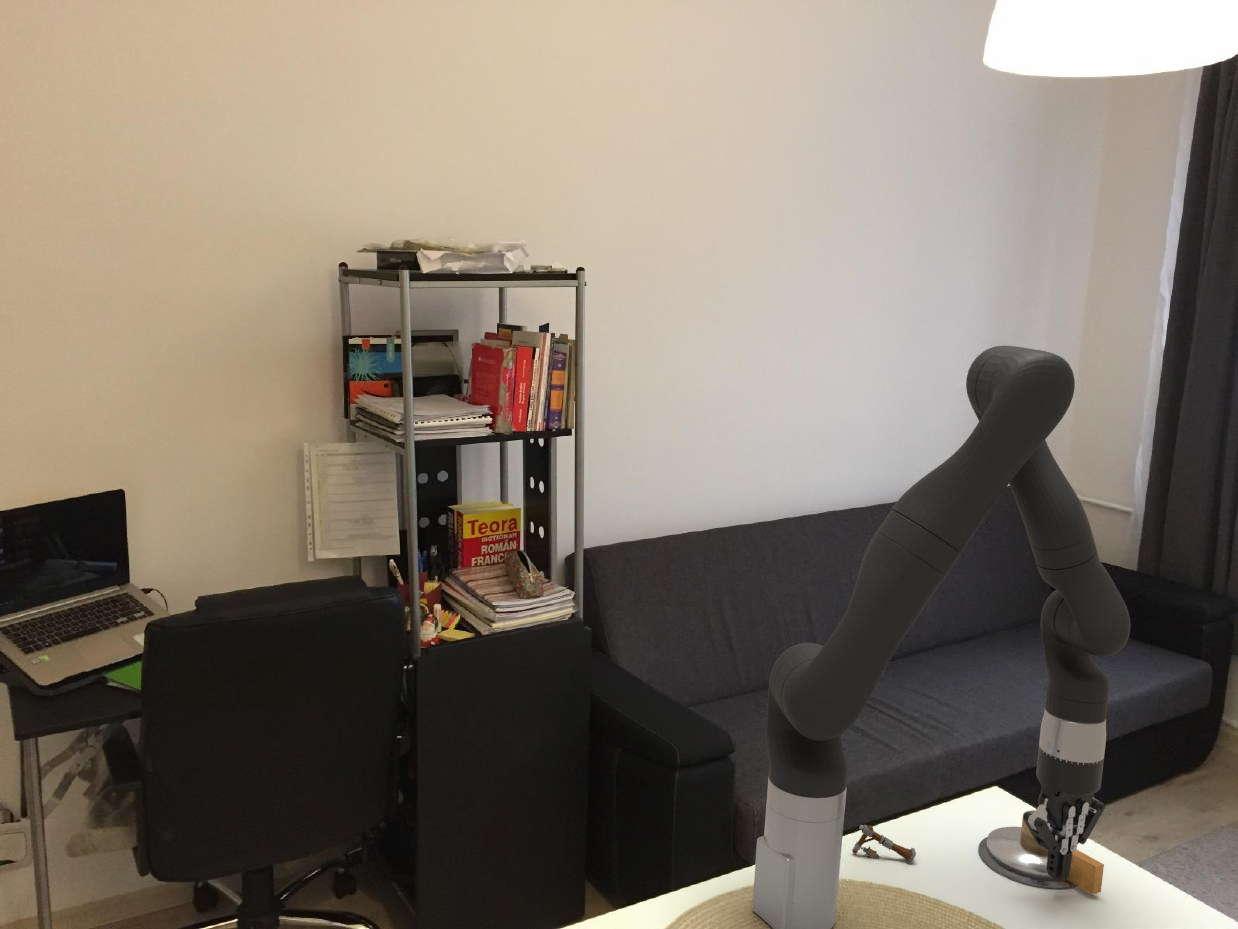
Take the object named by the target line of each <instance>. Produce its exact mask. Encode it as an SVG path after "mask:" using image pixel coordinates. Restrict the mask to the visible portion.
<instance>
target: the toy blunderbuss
mask: <svg viewBox="0 0 1238 929" xmlns="http://www.w3.org/2000/svg"><path fill="white" fill-rule="evenodd" d="M858 828H859V830H860V831H861V833H862V835H861V836H860V838H859V839H858V841H856V843H855V844H854V846H853V848H852V853H853V854H854V855H857V853H858V851H860V850H862V851H863V853H865V856H866V857H869V858H871V859H879V858H880V855H879V853H878V852H877V850H874V849H871V847H870V846H868V847H866V846H865V847H862V846H863V845H864V844H866V843H869V842H871V841H877V842H878V844H879V845H880V846H882V847H885V848H886V849H888V850H889V851H890V850H891V851H893V852H895V853H896V854H898V855H899V856H900V857H902V858H903V859H905V861H906V864H907V865H909V866H910V865H911V863H912V862H913V861H914V859H915V857H916V856H917V852H916V848H914V847H911V848H910V849H909V848H906V847H904V846H902V845H899V844H896V843H894V842H893V840H891V839H889V838H888V837H887V836H884V834H880V833H878V832H877V831H875V830H874V827H873V825H871V824H870V825H866V824H864V825H863V824H861V825H859V826H858ZM867 838H868V839H867Z"/></svg>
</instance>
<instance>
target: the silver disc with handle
mask: <svg viewBox="0 0 1238 929" xmlns="http://www.w3.org/2000/svg"><path fill="white" fill-rule="evenodd" d="M1021 828H1022V826H1004V827H998V828H995V829H994V830H991V831H990V832H989V834H988V835H987V836H986V837H987V846H986V848H987V852H988V854H989V855H990V856H991V857H992V858H993V859H994V860H995V861H996V862H997V863H999V864H1000V865H1002V866H1003V867H1005V868H1007V869H1009V870H1011V871H1014V872H1016V873H1019V874H1022V875H1025V876H1028V877H1033V878H1037V879H1044V880H1056V879H1055V878H1053V877H1051V876H1050V875H1049V874H1048V873H1047V869H1046V867H1047V857H1048V856H1042V855H1037V854H1034V853H1031V852H1029V851H1027V850H1025V849H1024V848H1023V847H1022V846H1021V845H1020V838H1021ZM1104 868H1105V864H1103V863H1102V862H1101V861H1098V860H1096V859H1095V858H1093V857H1091V856H1090V855H1087V854H1086V853H1084V852H1082V851H1080V850H1079V849H1077V848H1076V850H1075V851H1074V852H1072V861H1071V869H1070V872H1069V878H1067V880H1069V881H1070V882H1072V883H1074V884H1075V885H1077V887H1079V888H1081V889H1083V890H1084V891H1086V892H1088V893H1089V894H1091V895H1096V894H1101V892H1102V884H1103V877H1104Z"/></svg>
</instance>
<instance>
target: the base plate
mask: <svg viewBox="0 0 1238 929" xmlns="http://www.w3.org/2000/svg"><path fill="white" fill-rule="evenodd" d="M987 837H988V836H986V837H983V839H982V840H981V841H980V842H979V844H978V850H977V852H978V856H979V857H980V859H981V861H982V863H984V864H985V865H986V866H987V867H988V868H989V869H991V870H993V871H994V872H995V873H997V874H999V875H1001V876H1002V877H1004V878H1006V879H1008V880H1011V881H1014V882H1016V883H1020V884H1023V885H1026V886H1030V887H1035V888H1039V889H1045V890H1067V889H1073V888H1076V887H1077V888H1078V886H1077V885H1075V884H1074V883H1072V882H1070V881H1069V880H1067V879H1064V880H1061V881H1058V880H1044V879H1037V878H1033V877H1028V876H1025V875H1022V874H1019V873H1016V872H1014V871H1011V870H1009V869H1007V868H1005V867H1003V866H1002V865H1000V864H999V863H997V862H996V861H995V860H994V859H993V858H992V857H991V856H990V855H989V854H988V852H987V848H986V846H987Z"/></svg>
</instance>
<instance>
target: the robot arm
mask: <svg viewBox="0 0 1238 929" xmlns="http://www.w3.org/2000/svg"><path fill="white" fill-rule="evenodd" d="M1075 384H1076V382H1075V376H1074V371H1073V369H1072V368H1071V365H1070V364H1069V363H1068V361H1067V360H1066V359H1065V358H1063V357H1062V356H1060V355H1058V354H1055V353H1053V352H1050V351H1046V350H1040V349H1034V348H1029V347H1023V346H1014V345H998V346H997V345H996V346H992V347H990V348H987V349H985V350H984V351H982V352H981V353H979V354H978V355H977V357H976V358H975V359H974V360H973V361H972V363H971V364H970V367H969V369H968V371H967V375H966V383H965V387H966V388H965V389H966V394H967V397H968V401H969V403H970V406H971V408H972V410H973V412H974V413H975V416H976V418H977V420H978V423H977V424H976V426H975V427H974V429H973V430H972V432H971V434H970V435H969V436H968V437H967V438H966V440H965V441H964V443H962V445H961V446H960V447H959V448H958V449H957V450H956V451H955V452H954V453H953V454H951V456H950V457H948V458H947V459H946V460H945V461H944V462H942V463H941V464H939V465H938V466H937V467H935V468H934V469H932V470H931V471H930V472H929V473H927V474H926V475H924V476H923V477H922V478H920V479H919V480H918V481H916V483H914V484H913V485H911V487H909V488H908V489H907V490H906V491H905V492H904V493H903V494H902V495H901V497H899V499H898V500H897V501H896V503H895V504H894V505H893V506H892V508H891V510H890V511H889V513H888V514H887V516H886V517H885V518H884V520H883V521H882V523H881V524H880V526H879V527H878V528H877V530H876V531H875V533H874V535H873V536H872V538H871V540H870V542H869V543H868V546H867V547H866V550H865V552H864V555H863V558H862V561H861V564H860V567H859V570H858V574H857V577H856V580H855V581H856V582H855V584H854V588H853V591H852V595H851V597H850V598H851V599H850V602H849V604H848V607H847V609H846V611H845V613H844V615H843V617H842V619H841V621H840V622H839V623H838V625H837V627H836V628H835V630H834V632H833V633H832V634H831V635H830V637H829V638H828V640H827V641H826V643H825V644H824V645H821V644H818V643H813V642H802V643H798V644H795V645H793V646H790V647H788V648H787V649H785V651H783V652H782V653H781V654H780V655H779V656H778V658H777V659H776V661H775V663H774V665H773V667H772V670H771V672H770V676H769V682H768V692H767V709H766V711H767V712H766V713H767V714H766V736H765V737H766V739H765V740H766V741H765V742H766V743H765V744H766V751H767V758H768V780H767V781H768V782H767V790H766V792H767V795H766V804H765V806H766V807H765V819H764V820H765V821H764V834H763V835H762V836H759V837H758V838H757V839H756V850H755V864H754V878H753V880H754V881H753V890H752V892H753V893H752V894H753V895H752V904H751V905H752V908H751V909H752V911H753V912H754V913H755V914H757V915H758V916H759V917H760V918H761V919H762V920H763V921H764V922H766V923H767V924H768V925H769V926H770V927H771V928H772V929H832V928H833V927H834V926H835V924H836V918H837V917H836V916H837V906H838V897H839V896H838V895H839V894H838V893H839V883H840V882H839V880H840V869H841V857H842V845H843V836H844V835H843V833H844V824H845V811H846V810H845V809H846V801H847V800H846V798H847V786H848V776H849V775H848V774H849V773H848V772H849V767H848V766H849V765H848V762H847V758H846V754H845V751H844V746H843V740H842V735H843V734H844V733H846V732H847V731H849V729H850V728H852V726H853V725H854V724H855V723H856V722H857V720H858V719H859V717H860V716H861V714H862V713H863V710H864V709H865V707H866V706H867V705H868V704H867V703H868V702H869V700H870V698H871V696H872V694H873V693H874V690H875V689H876V687H877V685H878V683H879V681H880V680H881V677H882V676H883V673H884V672H885V670H886V668H887V666H888V665H889V663H890V661H891V659H892V657H893V656H894V654H895V652H896V650H897V649H898V647H899V645H900V644H901V642H902V641H903V639H904V638H905V636H906V635H907V634H908V633H909V631H910V630H911V628H912V626H913V625H914V624H915V623H916V620H917V619H918V618H919V616H920V614H921V613H922V611H923V610H924V609H925V607H926V606H927V604H928V603H929V601H930V599H931V598H932V597H933V595H934V594H935V592H936V591H937V589H938V588H939V587H940V585H941V584H942V583H943V581H944V580H945V579H946V577H947V575H949V573H950V571H951V570H952V569H953V567H954V566H955V564H956V563H957V561H958V560H959V558H960V557H961V556H962V555H961V554H963V552H964V551H965V550H966V547H967V545H968V544H969V542H970V541H971V539H972V538H973V536H974V534H975V533H976V531H977V530H978V529H979V527H980V526H981V524H982V523H983V521H984V520H985V518H986V517H987V516H988V514H989V513H990V511H991V510H992V509H993V507H994V506H995V504H996V503H997V501H998V500H999V498H1000V497H1001V496H1002V494H1003V493H1004V491H1006V489H1007V487H1008V486H1009V487H1010V489H1011V492H1012V494H1013V497H1014V500H1015V502H1016V505H1017V507H1018V510H1019V513H1020V517H1021V518H1022V522H1023V524H1024V528H1025V530H1026V531H1025V532H1026V535H1027V538H1028V541H1029V542H1028V543H1029V545H1030V548H1031V551H1032V554H1033V558H1034V561H1035V564H1036V567H1037V569H1038V573H1039V574H1040V577H1041V578H1042V579H1043V581H1044V582H1045V583H1047V584H1048V585H1049V586H1051V587H1052V588H1053V589H1055V590H1054V591H1052V593H1051V594H1049V596H1048V597H1047V599H1046V600H1045V602H1044V604H1043V606H1042V609H1041V614H1040V625H1039V626H1040V636H1041V642H1042V647H1043V656H1044V661H1045V665H1046V666H1045V667H1046V671H1047V676H1048V677H1047V684H1046V685H1047V686H1046V693H1045V694H1046V696H1045V705H1044V713H1043V716H1042V721H1041V725H1040V730H1039V731H1040V732H1039V734H1040V735H1039V740H1038V741H1039V742H1038V749H1037V750H1038V753H1037V762H1036V771H1035V774H1036V778H1037V780H1038V781H1039V783H1040V786H1041V791H1040V794H1039V796H1038V799H1037V803H1038V806H1037V807H1036V809H1034V813H1033V814H1031V813H1030V812H1027V811H1025V812H1026V813H1025V812H1024V813H1025V814H1024V813H1023V814H1024V816H1023V815H1022V819H1023V820H1024V822H1025V823H1026V825H1027V827H1028V829H1029V830H1030V832H1031V834H1032V836H1033V837H1034V839H1035V841H1036V843H1037V844H1039V845H1040V846H1042V847H1044V848H1046V849H1048V857H1047V867H1046V869H1047V873H1048V874H1049V875H1050V876H1051V877H1053V878H1055V879H1056V880H1058V881H1061V880H1064V879H1067V878H1069V872H1070V869H1071V861H1072V852H1074V851H1075V850H1076V849H1077V848H1078V844H1080V845H1084V844H1086V842H1087V840H1088V839H1089V837H1090V835H1091V834H1092V831H1093V830H1094V828H1095V826H1096V825H1097V823H1098V821H1099V819H1100V818H1101V816H1102V814H1103V812H1104V811H1105V808H1106V804H1105V803H1104V802H1101V801H1100V800H1098V799H1096V798H1095V797H1094V796H1095V794H1096V793H1097V792H1099V791H1100V789H1101V787H1102V779H1103V772H1104V760H1105V751H1106V742H1107V723H1106V722H1107V712H1108V705H1109V704H1108V703H1109V696H1110V695H1109V694H1110V681H1109V677H1108V676H1107V675H1106V673H1105V672H1103V671H1102V669H1100V668H1099V667H1098V666H1097V665H1096V664H1095V662H1094V661H1093V658H1092V656H1095V657H1105V658H1106V657H1111V656H1114V655H1116V654H1117V653H1119V652H1120V651H1122V649H1124V647H1125V646H1126V644H1127V642H1128V641H1129V638H1130V635H1131V634H1130V633H1131V618H1130V613H1129V610H1128V607H1127V605H1126V603H1125V600H1124V598H1123V596H1122V594H1121V593H1120V591H1119V589H1118V588H1117V586H1116V583H1114V581H1113V579H1112V577H1111V575H1110V574H1109V572H1108V570H1107V569H1106V568H1105V566H1104V565H1103V563H1102V561H1101V560H1100V557H1099V553H1098V549H1097V546H1096V545H1097V544H1096V542H1095V538H1094V535H1093V531H1092V528H1091V525H1090V520H1089V519H1088V517H1087V513H1086V510H1085V509H1084V507H1083V504H1082V501H1081V500H1080V498H1079V496H1078V495H1077V493H1076V492H1075V490H1074V488H1073V487H1072V485H1071V483H1070V481H1069V480H1068V479H1067V477H1066V476H1065V474H1064V473H1063V471H1062V469H1061V468H1060V466H1059V464H1058V463H1057V460H1056V459H1055V457H1054V456H1053V453H1052V452H1051V449H1050V447H1049V446H1048V442H1047V441H1046V440H1047V439H1048V437H1049V435H1051V433H1052V432H1053V431H1054V429H1056V428H1057V426H1058V425H1059V423H1060V422H1061V420H1062V419H1063V418H1064V416H1065V415H1066V413H1067V411H1068V410H1069V408H1070V405H1071V403H1072V401H1073V398H1074V394H1075V389H1076V386H1075ZM1091 655H1092V656H1091Z"/></svg>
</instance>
